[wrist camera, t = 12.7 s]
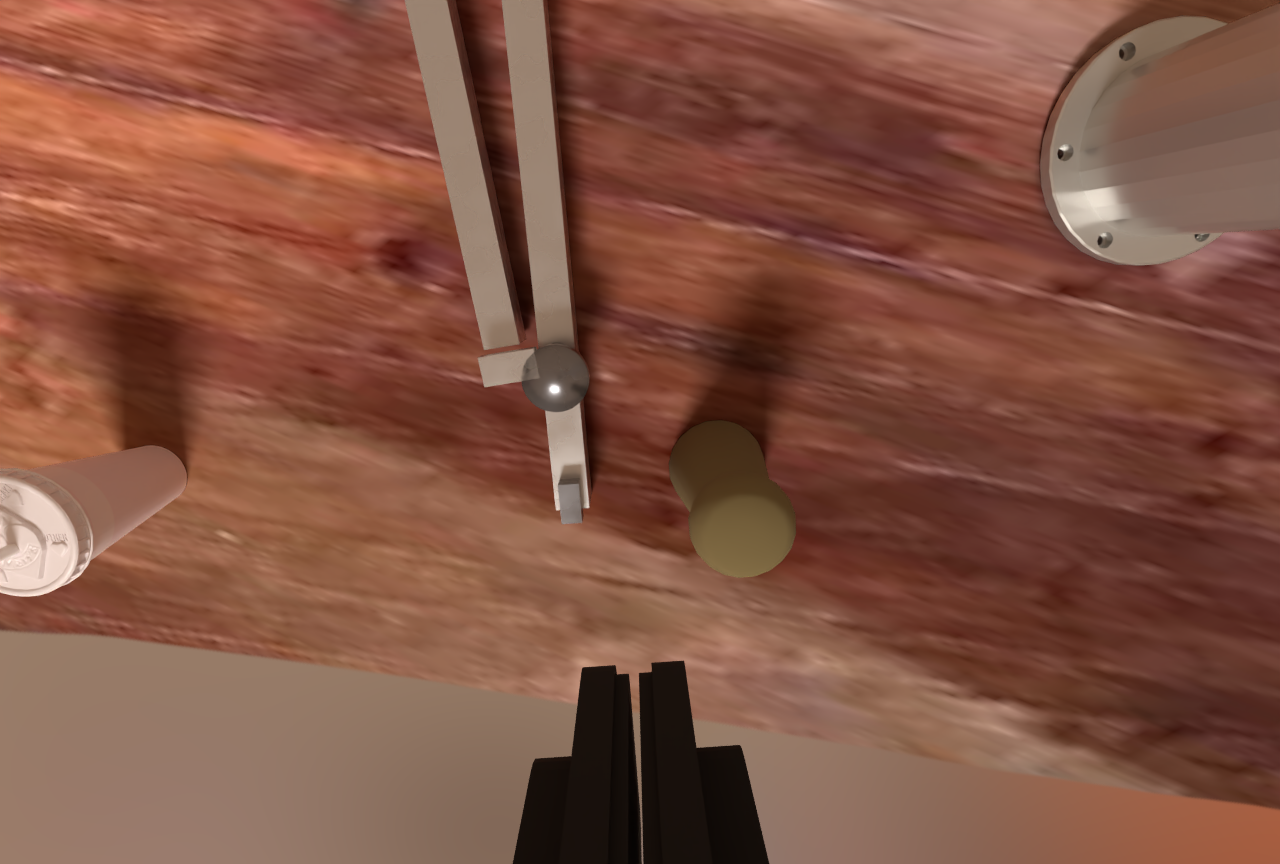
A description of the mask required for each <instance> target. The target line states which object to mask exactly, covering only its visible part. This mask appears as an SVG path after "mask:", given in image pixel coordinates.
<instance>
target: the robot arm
mask: <svg viewBox="0 0 1280 864" xmlns="http://www.w3.org/2000/svg"><path fill="white" fill-rule="evenodd" d="M1057 153H1058V155H1057ZM1040 173H1041V187H1042V191H1043V195H1044V199H1045V203H1046V206H1047V209H1048V211H1049V213H1050V215H1051V217H1052V219H1053V221H1054V224H1055V225H1056V226H1057V227H1058V229H1059V230H1060V231H1061V233H1062V234H1063V235H1064V237H1065V238H1066V239H1067V240H1068V241H1069V242H1071V243H1072V244H1073V245H1074V246H1075V247H1077V248H1078V249H1079V250H1080V251H1082V252H1084V253H1086V254H1088V255H1090V256H1092V257H1094V258H1096V259H1098V260H1101V261H1105V262H1109V263H1113V264H1117V265H1151V264H1161V263H1165V262H1168V261H1172V260H1176V259H1180V258H1182V257H1184V256H1187V255H1189V254H1191V253H1193V252H1195V251H1198V250H1200V249H1202V248H1203V247H1205V246H1206V245H1208V244H1209V243H1211V242H1212V241H1214V240H1215V239H1217V238H1218V237H1220V236H1221V235H1222V234H1223V233H1224V232H1241V231H1257V230H1273V229H1280V3H1278V4H1275V5H1273V6H1271V7H1268V8H1266V9H1263V10H1261V11H1258V12H1256V13H1253V14H1251V15H1249V16H1246V17H1244V18H1241V19H1239V20H1236V21H1234V22H1231V23H1229V24H1228V23H1226V22H1223V21H1219V20H1216V19H1212V18H1209V17H1205V16H1177V17H1171V18H1165V19H1160V20H1157V21H1154V22H1152V23H1149V24H1146V25H1144V26H1141V27H1139V28H1136V29H1134V30H1132V31H1130V32H1128V33H1126V34H1124V35H1122V36H1120V37H1119V38H1117V39H1115V40H1113V41H1112V42H1110V43H1109V44H1108V45H1106V46H1105V47H1103V48H1102V49H1101V50H1099V51H1098V52H1097V53H1095V54H1094V55H1093V56H1092V57H1091V58H1090V59H1089V60H1088V61H1087V62H1086V63H1085V64H1084V65H1083V66H1082V67H1081V68H1080V69H1079V70H1078V71H1077V72H1076V73H1075V75H1074V76H1073V78H1072V79H1071V81H1070V82H1069V83H1068V85H1067V86H1066V88H1065V89H1064V90H1063V92H1062V93H1061V95H1060V97H1059V99H1058V101H1057V103H1056V105H1055V107H1054V109H1053V111H1052V113H1051V115H1050V118H1049V122H1048V125H1047V128H1046V131H1045V135H1044V138H1043V144H1042V151H1041V159H1040ZM639 692H640V730H641V731H640V734H641V774H642V775H641V776H642V816H643V817H642V818H643V857H644V858H643V861H644V864H769V861H768V857H767V852H766V848H765V844H764V840H763V835H762V831H761V827H760V823H759V818H758V814H757V810H756V805H755V801H754V797H753V793H752V789H751V784H750V780H749V776H748V771H747V767H746V763H745V759H744V755H743V751H742V748H741V746H740V745H733V746H718V747H704V748H696V742H695V735H694V728H693V721H692V713H691V706H690V699H689V692H688V685H687V678H686V670H685V664H684V661H672V662H657V663H652V672H648V673H639ZM637 781H638V780H637V767H636V755H635V743H634V730H633V718H632V705H631V693H630V680H629V674H618V675H617V672H616V666H615V665H612V666H598V667H583V668H582V672H581V681H580V689H579V698H578V706H577V714H576V723H575V731H574V741H573V748H572V756H569V757H554V758H540V759H535V760H534V762H533V765H532V769H531V774H530V778H529V783H528V789H527V794H526V799H525V804H524V809H523V814H522V819H521V824H520V829H519V834H518V840H517V845H516V850H515V855H514V860H513V864H642V862H641V822H640V805H639V793H638V782H637Z"/></svg>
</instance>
